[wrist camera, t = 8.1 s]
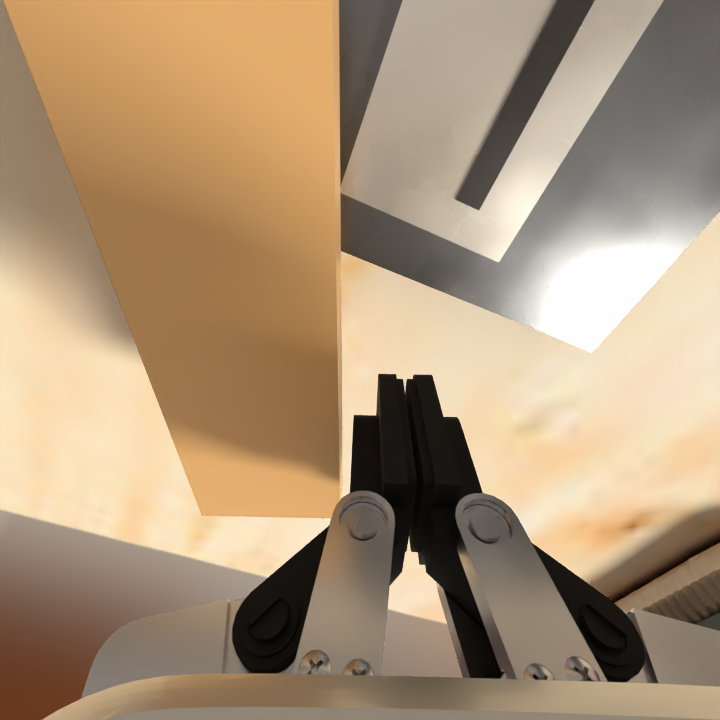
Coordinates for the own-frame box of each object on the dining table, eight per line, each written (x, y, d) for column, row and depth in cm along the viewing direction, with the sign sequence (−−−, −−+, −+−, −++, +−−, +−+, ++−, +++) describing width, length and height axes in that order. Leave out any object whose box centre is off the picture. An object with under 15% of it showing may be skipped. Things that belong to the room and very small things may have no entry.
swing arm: (335, -388, 4) (322, -655, 3) (342, 476, 12) (340, 518, 11) (-48, -401, 4) (-258, -675, 3) (219, 474, 12) (201, 515, 11)
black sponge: (740, 506, 21) (806, 571, 18) (835, 535, 22) (910, 599, 19) (562, 614, 29) (585, 671, 26) (640, 630, 31) (671, 685, 28)
